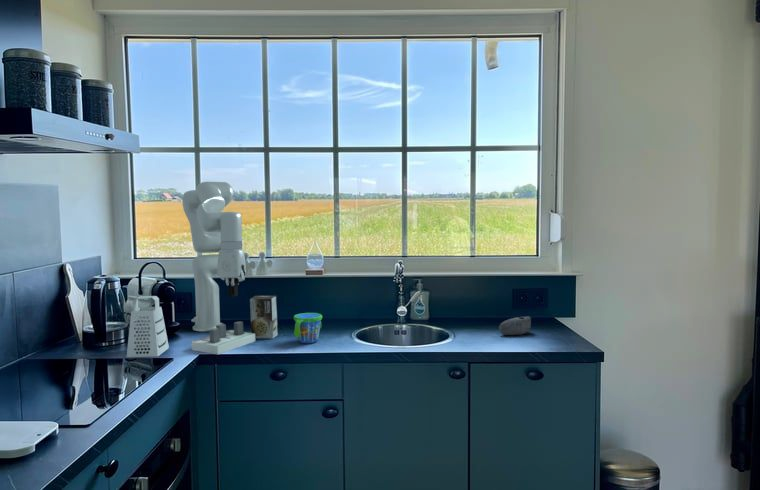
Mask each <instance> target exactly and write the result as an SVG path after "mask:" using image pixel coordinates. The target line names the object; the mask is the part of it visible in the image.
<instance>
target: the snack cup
mask: <svg viewBox="0 0 760 490" xmlns="http://www.w3.org/2000/svg"><path fill="white" fill-rule="evenodd" d="M322 319H323V315H322V314H321V313H318V312H304V313H303V312H302V313H298V314H294V315H293V320H294V322H295V324H294V330H293V335H294V337H296V338H297V340H298V342H299V343H301V344H314V343H316V342H318V341H319V339H320V338H319V336H320V330H321V329H322V326H323V325H322Z"/></svg>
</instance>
